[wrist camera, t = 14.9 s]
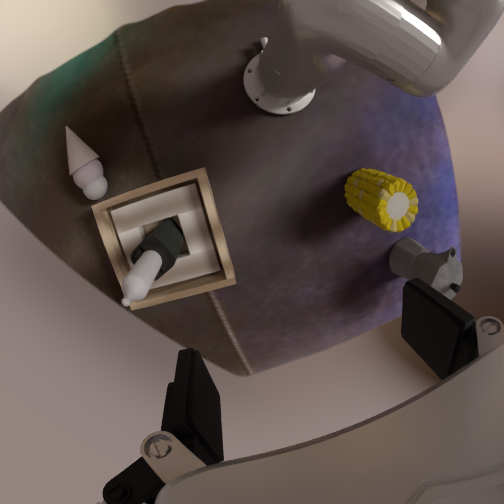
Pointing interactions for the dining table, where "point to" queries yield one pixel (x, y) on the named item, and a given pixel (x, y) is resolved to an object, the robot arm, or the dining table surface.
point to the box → (189, 220)
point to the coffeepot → (427, 266)
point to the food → (382, 199)
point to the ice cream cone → (85, 167)
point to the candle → (152, 259)
